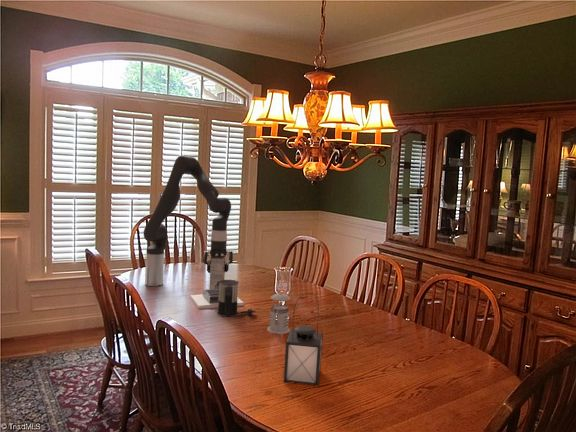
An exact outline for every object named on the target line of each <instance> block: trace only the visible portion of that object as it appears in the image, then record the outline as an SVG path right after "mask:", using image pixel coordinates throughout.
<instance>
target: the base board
mask: <svg viewBox="0 0 576 432" xmlns="http://www.w3.org/2000/svg"><path fill="white" fill-rule="evenodd" d="M215 296H219V295H215ZM211 297H213V296H211ZM189 298H191V299H190V300H191V302H192V303H193V304H194V306H195V307H196V308H197V309H198V310H201V309H204V310H205V309H213V308H217V309H218V303H209V302H208V301H207V300H206V299H205V298H204V297H203V293H201V294H190V296H189ZM244 304H245V302H244V301H242V299H240V297H238V298H237V307H241V306H244Z"/></svg>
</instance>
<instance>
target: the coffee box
mask: <svg viewBox="0 0 576 432" xmlns="http://www.w3.org/2000/svg"><path fill="white" fill-rule="evenodd" d="M210 257H211V263H210V273H209V289H208V290H219V281H220V280H225V277H226V275H225V274H226V272H225V264H226V263H225V258H226V256H211V255H210Z"/></svg>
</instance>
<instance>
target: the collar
mask: <svg viewBox="0 0 576 432" xmlns="http://www.w3.org/2000/svg"><path fill="white" fill-rule="evenodd" d="M202 294H203V297H204V298H205V299H206V300H207V301H208V302H209V303H218V301H219V296H215V295H219V290H209V289H202ZM211 296H213V297H211Z"/></svg>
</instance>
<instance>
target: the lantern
mask: <svg viewBox="0 0 576 432" xmlns="http://www.w3.org/2000/svg"><path fill="white" fill-rule="evenodd" d="M307 294H311V295H313V296H314V297H315V298H316V301H317V303H319V301H318V298H317V295H315V294H314V293H312V292H306V293H303V294H301V295H300V296H299V298H298V299H297V300H296V302H295V304H294V307H293V314H292V325H295V324H294V321H295V319H294V318H295V309H296V305H297V303H298V301H299V299H301V297H303V296H304V295H307ZM319 308H320V307H319V304H317V316H319ZM316 325H317V326H316V329H315V328H314V327H312V326H310V325H299V326H296V327H295V328H294V329H290V332H288V337H287V340H286V341H285V351H284V353H285V354H284V367H283V368H284V370H283V371H284V372H283V383H285V382H286V383H288V382H294V383H293V384H297V383H304V384H303V385H306V384H314V385H313V386H315V385H318V386H319V384H320V374H321V368H322V367H321V366H322V365H321V363H322V348H323V336H324V334H323V332H319V331H318V330H319V329H318V328H319V322H317V324H316Z"/></svg>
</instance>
